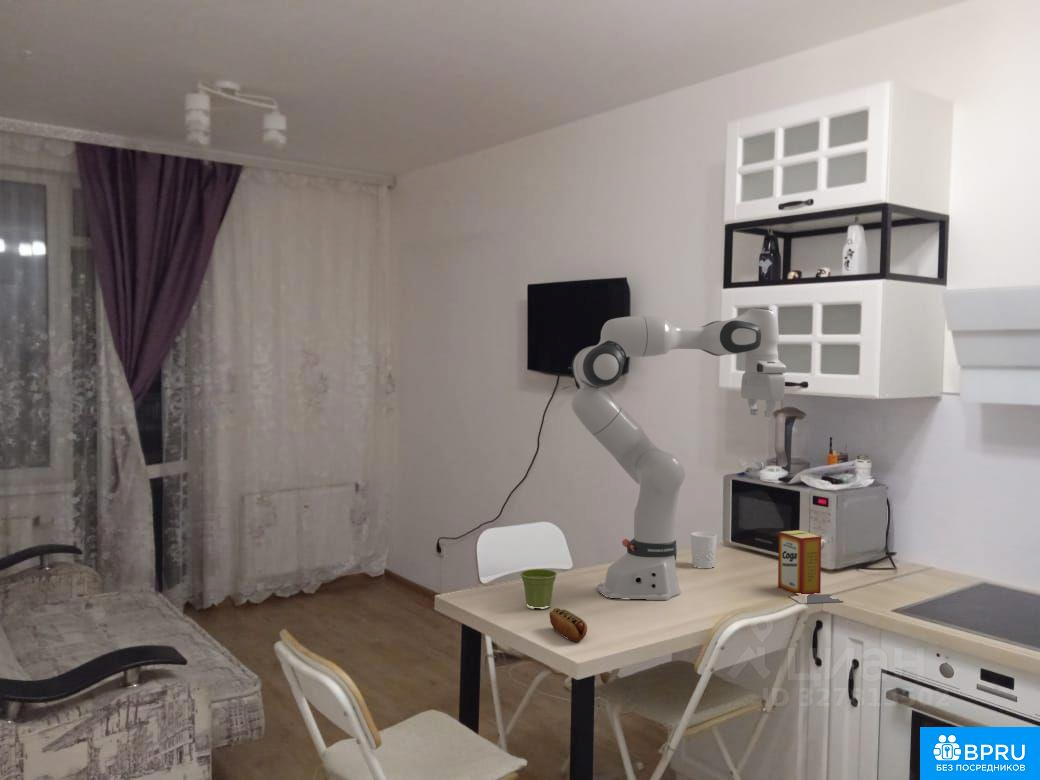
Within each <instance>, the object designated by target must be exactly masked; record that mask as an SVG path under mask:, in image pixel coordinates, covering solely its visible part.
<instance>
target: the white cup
mask: <svg viewBox="0 0 1040 780" xmlns="http://www.w3.org/2000/svg"><path fill="white" fill-rule="evenodd" d="M717 538H718V534H717V533H714V532H709V531H694V532H691V533H690V543H691V544H690V546H691V547H690V549H691V560H692V561H691V563H692V564H691V565H693V566H696V567H701V568H710V569H713V568H712V567H714V566H715V564H716V558H717V557H716V555H717V541H718V539H717ZM693 566H692V567H693ZM696 567H695V568H696ZM701 568H700V569H701ZM714 568H715V567H714Z"/></svg>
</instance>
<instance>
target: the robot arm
mask: <svg viewBox="0 0 1040 780" xmlns="http://www.w3.org/2000/svg"><path fill="white" fill-rule="evenodd" d="M779 333H780V332H779V320H778V316H777V313H776V312H775V311H773V310H772V309H768V308H765V307H751V308H749V309H748V310H747V311H746V312H744V313H742V314H740V315H738V316H736V317H734V318H733V317H732V319H731V318H730V319H728V320H716V321H712V322H709V323H707V324H705V325H702V326H677V325H676V326H675V325H672V323H670V322H669V320H667V319H666V318H662V317H657V316H648V315H646V316H645V315H636V316H635V315H633V316H632V315H631V316H630V315H629V316H623V317H616V318H611V319H609V320H607V321H606V322H604V324H603V326H602V328H601V330H600V339H599V342H598V343H597V344H596V345H591V346H587V347H584V348H581V349H579V350H578V352H576V354H574V356H573V358H572V361H571V372H572V376H573V380H574V382H575V386H576V388H577V389H578V390H577V391H576V392H575V394H574V395H573V397H572V399H571V409H572V411H573V413H574V415H576V417H577V418H578V419H579V421H580V422H581V424H582V425H583V426H584V427H585V429H586V430H587V431H588V432H589V433H590V434H591V435H592V436H593V437H594V438H595V439H596V441H598V442H599V443H600V444H601V446H602V447H604V448H605V449H606V450H607V451H608V452H609V454H610V455H612V457H613V458H614V459H615V460H616V462H617V463H618V464H619V466H621V468H622V469H623V470H624V471H625V472H626V473H627V474H628V476H629V477H630V478H631V479H632V480H633V481H634V482H635V483H636V484H638V485H639V494H638V500H637V504H636V507H635V509H634V512H633V513H634V514H633V516H634V517H633V518H634V519H633V520H634V521H633V538H632V539H631V540H628V539H627V538H624V539H623V540H622V541H621V544H622V546H623V547H625V548H626V551H627V552H626V553H625V554H624V555H623V556H621V557H620V558H618V559H617V560H616V561H614V562H613V563H611V564H610V565H609V566H608V569H607V571H606V574H605V575H606V576H605V582H600V583H598V585H597V590H598V589H599V591H600V592H601V593H603V594H604V595H606V596H608V597H612V598H629V599H628V600H630V599H646V600H649V601H652V600H653V601H667V600H670V599H671V598H672V597H675V596H678V595H679V594H680V593H681V589H680V585H679V581H678V575H677V567H676V566H677V565H676V561H677V555H678V554H677V553H678V552H677V550H678V549H677V548H678V547H677V540H676V537H675V536H676V528H675V527H676V509H677V504H678V499H679V494H680V488H681V486H682V485H683V483H684V480H685V467H684V466H683V464H682V462H681V461H680V460H679V459H678V458H677V457H676V456H675V455H673V454H671V453H670V452H667V451H663V450H661V449H660V448H658V447H657V446H656V445H655V444H654V442H653V441H652V440H651V439H650V438H649V436H648V435H647V433H645V431H644V430H643V428H642V426H641V425H640V424H639V422H637V421H636V420H635V419H634V418H633V417H632V415H630V414H629V413H628V412H627V410H625V408H624V406H623V407H622V405H621V404H619V402H618V401H617V400H616V399H614V397H613V395H612V394H611V392H610V389H609V386H612V385H613V384H615V383H616V382H618V380H620V379H621V376H622V374H623V370H624V365H625V363H626V359H627V358H629V357H630V358H631V357H635V358H637V357H638V358H640V357H641V358H642V357H643V358H644V357H648V358H649V357H654V356H655V357H657V356H661V355H666V354H667V353H668V352H669V351H671V350H678V349H679V350H682V349H683V350H684V349H685V350H701V351H704V352H705V353H707V354H710V355H712V356H715V357H716V356H717V357H721V356H729V355H739V354H743V353H744V354H745V366H744V367H745V370H744V373H743V374H742V375H741V376H742V377H741V387H740V395H741V398H742V399H747V405H748V407H749V415H751V416H758V415H759V412H758V411H759V409H758V408H757V407H758V406H757V403H758V401H765V407H766V408H765V410H764V417H765V418H773V417H774V411H775V408H776V402H782V401H783V399H784V398H785V392H786V391H785V390H786V377H785V374H786V372H787V366H786V365H785V363H783V362H782V361H781V360H779V352H778V351H779V350H778V343H779V339H780V338H779V335H780V334H779ZM599 591H598V592H599ZM646 600H645V601H646Z"/></svg>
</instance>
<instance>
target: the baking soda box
mask: <svg viewBox="0 0 1040 780" xmlns="http://www.w3.org/2000/svg"><path fill="white" fill-rule="evenodd" d="M777 556H778V558H777V559H778V562H777V563H778V565H777V566H778V569H777V571H778V572H777V573H778V574H777V575H778V576H777V577H778V578H777V580H778V581H777V584H778V585H777V588H779V589H782V590H783V591H786V592H790V593H792V594H794V595H797V594H796V593H801V594H814V593H820V594H821V587H822V586H821V585H822V584H821V581H822V579H821V578H822V577H821V576H822V575H821V574H822V573H821V571H822V568H821V567H822V536H820V535H817V534H813V533H809V532H807V531H803V530H799V529H797V530H785V531H778V555H777ZM814 595H815V594H814Z"/></svg>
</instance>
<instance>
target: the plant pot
mask: <svg viewBox="0 0 1040 780" xmlns="http://www.w3.org/2000/svg"><path fill="white" fill-rule="evenodd" d="M519 575H520V577H521V579H522V582H523V587H524V594H525V602H526V603H525V604H526V605H527V604H528V605H529V606H533V607H545V606H550V605H552V597H553V590H554V584H555V581H556V577H557V576H558V573H557V572H556V571H554V570H551V569H545V568H544V569H543V568H542V569H541V568H537V569H534V568H533V569H526V570H523V571H521V572H520V574H519ZM550 607H551V606H550Z"/></svg>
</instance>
